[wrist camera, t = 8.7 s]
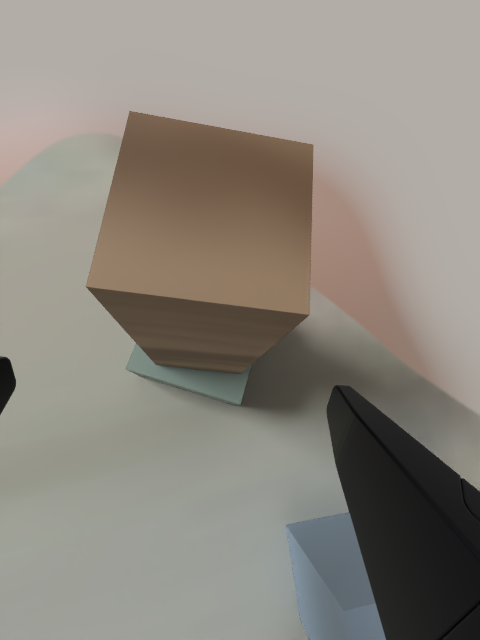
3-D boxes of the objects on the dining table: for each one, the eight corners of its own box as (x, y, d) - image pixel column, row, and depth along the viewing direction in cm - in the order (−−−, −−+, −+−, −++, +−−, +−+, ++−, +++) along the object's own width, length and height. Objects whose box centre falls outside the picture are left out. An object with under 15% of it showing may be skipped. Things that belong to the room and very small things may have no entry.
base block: (234, 405, 22) (240, 404, 18) (140, 376, 22) (125, 368, 18) (260, 315, 24) (270, 297, 20) (174, 288, 24) (167, 265, 20)
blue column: (378, 600, 19) (514, 753, 11) (300, 619, 19) (378, 797, 10) (358, 510, 21) (466, 581, 12) (285, 524, 20) (343, 610, 11)
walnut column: (240, 373, 19) (309, 314, 7) (155, 365, 18) (85, 287, 7) (247, 296, 20) (313, 144, 9) (168, 285, 20) (129, 111, 8)
